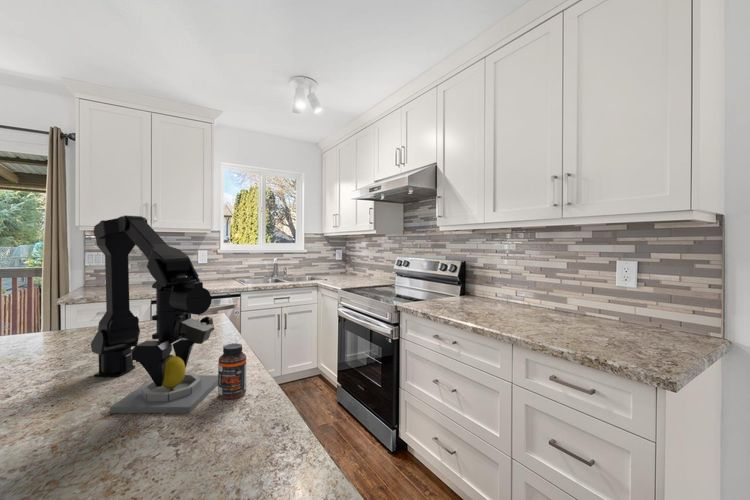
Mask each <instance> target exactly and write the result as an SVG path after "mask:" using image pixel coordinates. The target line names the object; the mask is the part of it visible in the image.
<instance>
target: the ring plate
mask: <svg viewBox="0 0 750 500" xmlns="http://www.w3.org/2000/svg"><path fill="white" fill-rule="evenodd" d="M216 387H218V374H215V375H214V374H211V375H209V374H206V375H205V374H204V375H201V374H200V375H199V374H198V375H197V374H196V373H187V372H185V377H184V379H183V381H182V382H181V383H180V384H179V385H178V386H176V387H175V388H174V389H172V390H170V389H169V388H165V387H163V386H161V387H157V386H156V385H155V383H154V381H153V380H152V379H150V380H149V381H147V382H146V383H144V384H143V385H141V386H140V387H138V388H137V389H134V391H132V392H131V393H129V394H128V395H126V396H125V397H123V398H122V399H120V400H118V401H117V402H116V403H114V404H113V405H111V406H109V414H183V413H184V414H187V413H188V414H189V413H191V412H192V411H193V410H194V409H195V408H197V406H198V405H199V404H200V403H201V402H202V401H203V400H204V399H205V398H206V397H207V396H208V395H210V394H211V393H212V392H213V390H215V389H216Z"/></svg>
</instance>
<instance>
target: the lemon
mask: <svg viewBox="0 0 750 500" xmlns="http://www.w3.org/2000/svg"><path fill="white" fill-rule="evenodd" d="M171 355H172V357H171V358H170V359H169V360H168V361H167V362H166V364H165V374H164V382H163V387H165V388H169V389H170V390H172V389H174V388H175V387H176V386H178V385H179V384H180V383H181V382H182V381H183V379H184V377H185V373H186V369H185V364H184V361H183V360H182V359H181V358H180V357H178V356H176V355H175V354H171Z"/></svg>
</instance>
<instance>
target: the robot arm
mask: <svg viewBox="0 0 750 500" xmlns="http://www.w3.org/2000/svg"><path fill="white" fill-rule="evenodd" d="M93 236H94V238H95V241H96V246H97V247H98V249H99V250H100V251H101V252H102V253H103V255H104V264H105V265H104V266H105V267H104V269H105V303H106V307H105V308H106V310H105V311H106V312H105V313H104V315H102V317H101V319H100V320H99V322H98V330H97V332H96V334H95V336H94V337H93V339H92V340H91V342H90V349H91V352H92V353H94V354H97V355H98V372H96V373H95V374H93V377H94V378H95V377H98V378H99V377H102V378H103V377H120V376H123V375H124V374H126V373H128V372H130V371H131V370H134V369H135V368H136V365H134V361H135V362H136V363H139V364H140V365H141V366H142V367H143V369H144V370H145V371H146V373H147V374H148V375H149V377H150V378H151V380H153V381H154V383H155V385H156V386H157V387H161V386H163V382H164V374H165V364H166V362H167V361H168V360H169V359H170V358H171V357H172V355H173V354H171V352H172V350H173V351H174V356H178V357H180V358H181V359H182V360H183V361H184V364H185V370H186V368H187V365H188V363H189V360H190V359H189V358H190V355H191V352H192V349H193V346H194V345H195V344H197V345H201V344H203V343H204V342H205V341H209V339H210V337H211V333H212V332H213V331H215V324H214V320H213V317H211V316H208V315H206V316H204V317H202V318H201V319H199V318H196V319H194V318H192V315H198V316H199V315H202V314H204V313H205V312H207V311H208V309H210V306H211V305H212V302H213V301H212V300H213V299H212V296H211V293H210V291H209V290H208V289H207V288H205V287H204V283H203V281H200V277H199V274H198V272H197V271H196V269H195V267H194V265H193V263H192V261H191V259H190V257H189V256H188V254H187V253H185V252H183V250H181V249H179V248H176V247H173V246H170V245H169V244H168V243H166V242H165V241H164V239H162V237H161V236H160V235H159V234H158V233H157V232H156V231H155V230H154V229H153V227H151V225H150V224H149V223H148V219H147V218H146V217H143V216H140V215H127V214H126V215H125V214H124V215H122V216H121V215H120V216H119V217H117V218H116V217H115V218H113V219H106V220H103V219H102V220H100V221H99V222H98V223H97V224H95V225H94V227H93ZM135 246H136V247H137V248H138V249H139V250H140V251H141V252H142V254H143V255H144V256H145V257H146V259H147V264H146V268H147V270H148V271H149V274H150V275H151V276H152V278H153V279H154V280H155V282H153V284H152V285H151V288H152V289H155V290H156V291H155V293H156V294H155V297H156V299H155V300H156V302H155V305H156V307H155V308H156V310H155V311H156V314H154V315H151V321H153V322H155V321H156V324H155V325H156V332H155V333H153V334H151V339H152V340H145V341H143V342H141V343H139V338H140V332H141V329H140V325H139V323H140V319H139V317H138V316H135V315H134V314H133V312H132V311H131V308H130V270H129V263H130V262H129V255H130V253H131V252H132V250H133V249H134V248H135ZM138 343H139V344H138Z"/></svg>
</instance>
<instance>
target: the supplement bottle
mask: <svg viewBox="0 0 750 500" xmlns="http://www.w3.org/2000/svg"><path fill="white" fill-rule="evenodd" d="M222 350H223V351H222V352H223V353H222V354H221V355H220V356H219V358H218V364H217V366H218V367H217V368H218V371H217V372H218V374H217V375H218V385H217V390H218V391H217V393H218V395H217V396H218V397H219V398H220V399H222V400H225V401H226V400H230V401H231V400H235V399H239V398H241V397H243V396H245V394H246V393H247V355H246V354H245V352H243V345H242V344H240V343H238V342H237V343H235V342H234V343H228V344H225V345H223V347H222Z"/></svg>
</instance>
